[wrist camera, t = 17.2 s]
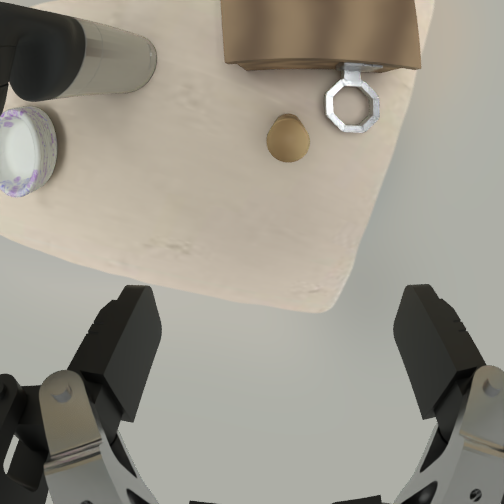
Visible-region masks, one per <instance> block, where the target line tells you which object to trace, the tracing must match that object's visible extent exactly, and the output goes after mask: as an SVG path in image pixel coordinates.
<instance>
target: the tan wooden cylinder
mask: <svg viewBox="0 0 504 504" xmlns="http://www.w3.org/2000/svg"><path fill="white" fill-rule="evenodd" d="M309 145H310V139H309V135H308V133H307V131H306V129H305V128H304V126H303V125H302V123H301V122H300V120H299V119H298V118H297V117H296V116H294V115H292V114H283V115H281V116H280V117H278V118H277V120H276V121H275V123H274V124H273V126H272V128H271V129H270V131H269V133H268V135H267V147H268V150H269V152H270V153H271V155H272V156H273V157H275V158H276V159H278V160H280V161H282V162H295V161H297V160H299V159H301V158H302V157H303V156H304V155H305V154H306V153H307V151H308V149H309Z"/></svg>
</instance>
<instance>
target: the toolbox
mask: <svg viewBox="0 0 504 504" xmlns="http://www.w3.org/2000/svg"><path fill="white" fill-rule="evenodd" d="M221 14H222V29H223V44H224V59H225V63H227V64H238V65H239V66H241V67H242V68H244V69H245V70H246V71H249V70H266V69H336V66H335V65H337V64H338V63H339V62H353V63H365V64H375V65H383V68H380V69H377V70H374V71H371V72H377V73H382V72H386V71H390V70H394V69H399V68H406V69H412V70H417V69H421V56H420V43H419V33H418V24H417V16H416V9H415V2H414V0H221Z"/></svg>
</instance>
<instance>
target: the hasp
mask: <svg viewBox="0 0 504 504" xmlns="http://www.w3.org/2000/svg"><path fill="white" fill-rule="evenodd" d="M335 66H336V70H341V77H342V79H341V80H339V81H337V82H336V83H335V84H334V85H333V86H332V87H331V88H330V89H329V90H328V91H327V92H326V93H325V94H326V95H324V105H325V114H326V117H327V118H328V119H329V120H330V121H331V122H332V123H333V124H334V125H335V126H336V127H337V128H338V129H339V130H341V131H343V132H360V133H364V132H366V131H367V130H368V129H369V128H370V127H371V126H372V125H373V124H374V123H375V122H376V121H377V120H378V117H379V118H380V104H379V98H377V97H378V95H377V94H376V93H375V92H374V91H373V90H372V88H371V87H370V86H369V85H368V84H367V83H366V82H365V81H363V80H361V74H360V72H371V71H374V70H377V69H380V68H383V65H375V64H365V63H353V62H339V63H338V64H337V65H335ZM343 86H348V87H358V88H359V89H360V90H361V91H362V92H363V93H364V94H365V95H366V96H367V97H368V98H369V115H368V116H367V117H366V118H365V119H364V120H363V121H362V122H361V123H360V124H359V125H350V124H344V123H343V122H342V121H341V120H340V119H339V118H338V117H337V116H336V115H335V114H334V113H333V96H334V95H335V94H336V93H337V92H338V91H339V90H340V89H341V88H342V87H343Z"/></svg>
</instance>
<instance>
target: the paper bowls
mask: <svg viewBox="0 0 504 504" xmlns="http://www.w3.org/2000/svg"><path fill="white" fill-rule="evenodd" d="M56 159H57V139H56V133H55V129H54V126H53V124H52V122H51V120H50V118H49V117H48V115H47V114H46V113H45V112H43V111H42V110H41V109H39V108H37V107H34V106H26V107H19V108H13V109H9V110H7V111H5V112H4V113H2V114H1V117H0V189H1V190H2V191H3V192H4V193H5V194H7V195H9V196H11V197H22V196H25V195H27V194H29V193H31V192H33V191H35V190H36V189H38V188H40V187H42V186H43V185H44V184H45V183H46V182H47V181H48V179H49V178H50V177H51V175H52V173H53V170H54V167H55V164H56Z"/></svg>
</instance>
